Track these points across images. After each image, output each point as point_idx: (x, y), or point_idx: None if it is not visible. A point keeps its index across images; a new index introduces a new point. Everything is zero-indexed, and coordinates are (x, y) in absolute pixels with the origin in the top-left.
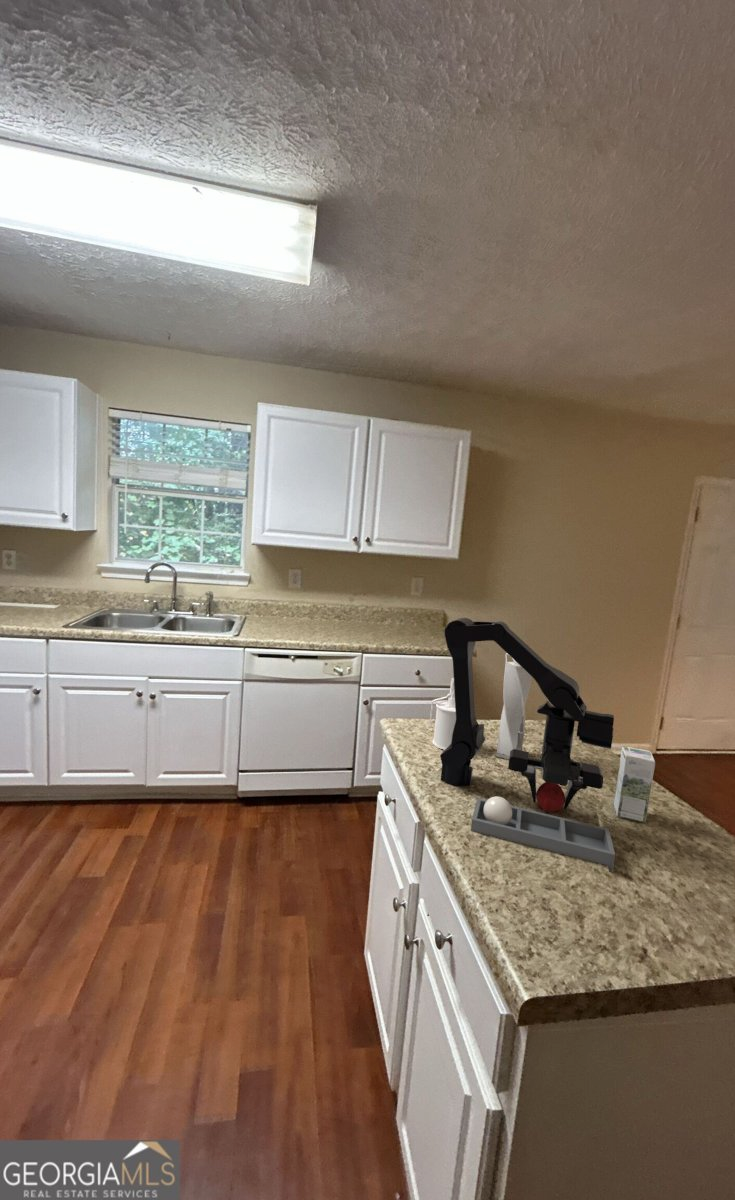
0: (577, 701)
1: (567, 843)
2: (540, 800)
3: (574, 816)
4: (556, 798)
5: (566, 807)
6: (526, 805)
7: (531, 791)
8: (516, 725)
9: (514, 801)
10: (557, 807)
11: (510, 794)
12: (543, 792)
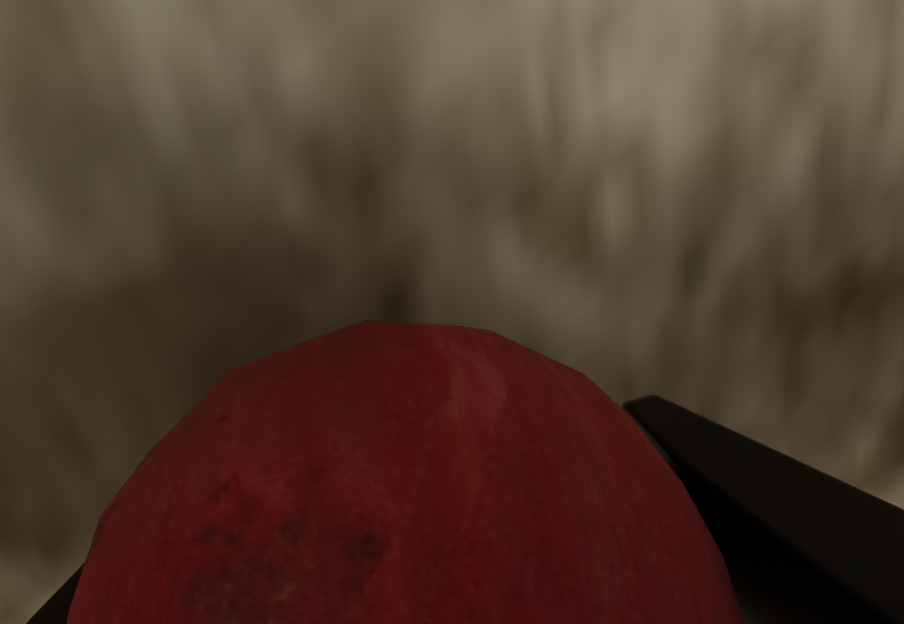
0: None
1: None
2: (585, 390)
3: (65, 560)
4: (165, 603)
5: (71, 581)
6: (676, 391)
7: (885, 501)
8: None
9: (820, 378)
10: (175, 426)
11: (855, 485)
12: (636, 603)
